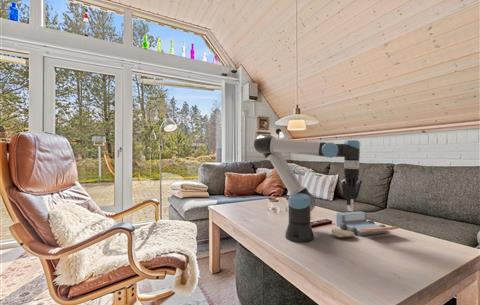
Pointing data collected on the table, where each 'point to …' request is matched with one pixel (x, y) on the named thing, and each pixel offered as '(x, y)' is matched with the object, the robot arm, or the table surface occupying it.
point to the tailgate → (379, 229)
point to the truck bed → (356, 223)
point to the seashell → (342, 233)
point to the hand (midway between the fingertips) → (350, 210)
